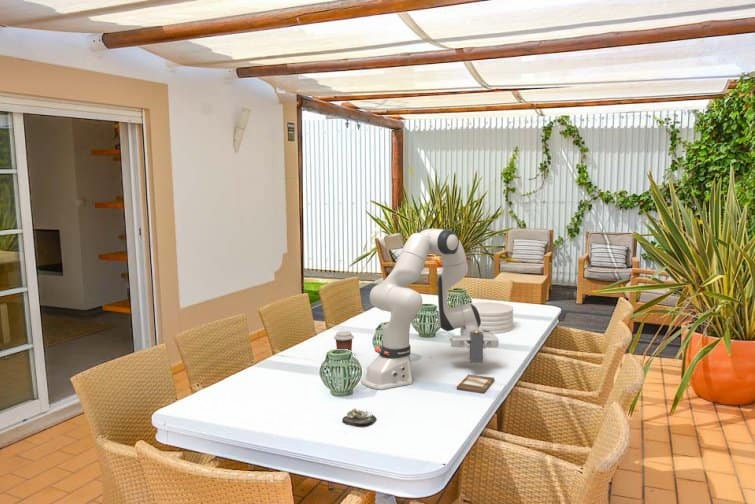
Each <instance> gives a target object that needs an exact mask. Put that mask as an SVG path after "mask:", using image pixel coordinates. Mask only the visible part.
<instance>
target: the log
mask: <svg viewBox="0 0 755 504" xmlns="http://www.w3.org/2000/svg"><path fill="white" fill-rule="evenodd" d="M377 420H378V419H377V417H376V416H375V415H373V413H372V412H370V411H367V410H366V411H363V410H361V409H357V408H356V407H355V408H352V409H351V410H350V411H348V412H347V413H346V416H343V418H342V423H343V424H345V425H348V426H350V427H351V426H352V427H359V428H362V427H363V428H366V427H369V426H373V425H374V424H375V423H376V422H377Z"/></svg>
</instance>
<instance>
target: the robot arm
mask: <svg viewBox="0 0 755 504" xmlns="http://www.w3.org/2000/svg"><path fill="white" fill-rule="evenodd" d="M429 254H432V255H439V256H440V259H441V260H440V261H441V265H442V272H441V274H440V275H439V276H438V278H437V299H438V300H437V301H438V302H437V303H438V314H437V315H438V316H437V322H438V325H439V327H440V329H442V330H444V331H445V332H450V331H453V330H456V329H457V330H458V329H460V330H459V331H460V332H459V333H460V335H457V334H455V335H452V336H451V337H450V338H449V341H450V342H451V344H450V345H451V346H450V347H452V348H466V349H470V348H471V347H470V346H471V344H470V332H474V331H475V330H477V331H480V332H482V333H483V349H487V348H491V349H492V348H493V349H494V348H498V347H499V338H498V337H497V336H496V334H493V333H492V332H491V331H485V330H481V329H479V328H478V327H479V326H480V324H481V320H480V315H479V313H478V310H477V308H476V307H475V306H474V305H472V304H469V303H466V305H465V304H462V305H458V306H454V307H451V308H450V307H449V308H448V291H449V290H450V289H451V288H452V287H453V286H455V285H456V284H458V283H460V282H461V281H462V280H463V279H464V278H466V276H467V274H468V272H469V266H468V260H467V256H466V252H465V249H464V246H463V244H462V242H461V240H460V239H459V236H458V234H457V233H456V232H455V231H453V230H450V229H447V228H446V229H442V228H441V229H440V228H423V229H419V230H418V231H417V232H415V233H412V234H410V236H409V237H408V239H407V240H406V242H405V244H404V245H403V247H402V248H401V251H400V254H399V256H398V258H397V261H396V263H395V265H394V267H393V268H392V270H391V271H390V272H389V274H388V275H387V277H386V278H384V279H383V281H381V282H380V283H378V284H376V285H374V287H372V288H371V290H370V293H369V301H370V304H371V305H372V306H374V308H377V309H378V310H380V311H383V312H384V311H385V312H387V313H388V312H389V313H390V318H389V321H388V322H387V323H385V324H384V325H383V327H382V345H381V346H380V347H381V348H380V347H377V346H376V347H375V348H374V352H375V353H378V354H379V355H378V356H377V357H376V358H375V359H373V361H372V362H371V363H370V364H369V365H368V367H367V369H366V376H365V377H363V378H361V379H360V383H361V384H362V385H364V386H366V387H369V388H370V389H373V390H378V391H379V390H380V391H381V390H386V389H393V388H397V387H401V386H407V385H411V384H413V380H414V375H413V371H412V364H411V356H410V355H411V353H412V352H411V344H410V332H411V329H410V328H411V324H412V322H413V319H414V317H416V315H417V314H418V313H420V311H421V310H422V307H423V296H422V295H421V293H419V292H418V291H416V290H415V289H412V288H409V286H410V285H411V284H413V283H416V282H417V281H418V279H419V278H420V277H421V274H422V271H423V269H424V267H425V264H426V262H427V259H428V256H429Z"/></svg>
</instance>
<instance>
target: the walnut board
mask: <svg viewBox="0 0 755 504" xmlns="http://www.w3.org/2000/svg"><path fill="white" fill-rule="evenodd" d="M494 382H495V377H491V376H485V375H483V376H482V375H478V374H477V375H475V374H469V373H468V374H467V375H466V376H465V377H463V380H461V382H459V383H458V385H456V390H457V391H463V392H471V393H477V394H485V393H486V392H487V391H488V390H489V388H490V386H492V384H493V383H494Z"/></svg>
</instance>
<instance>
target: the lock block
mask: <svg viewBox="0 0 755 504" xmlns="http://www.w3.org/2000/svg"><path fill="white" fill-rule="evenodd" d="M470 344H471V346H470V347H471V348H469V361H470V363H471V364H477V363H478V364H484V363H483V362H484V348H483V333H482V332H480V331H477V330H475V331H474V332H470Z"/></svg>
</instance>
